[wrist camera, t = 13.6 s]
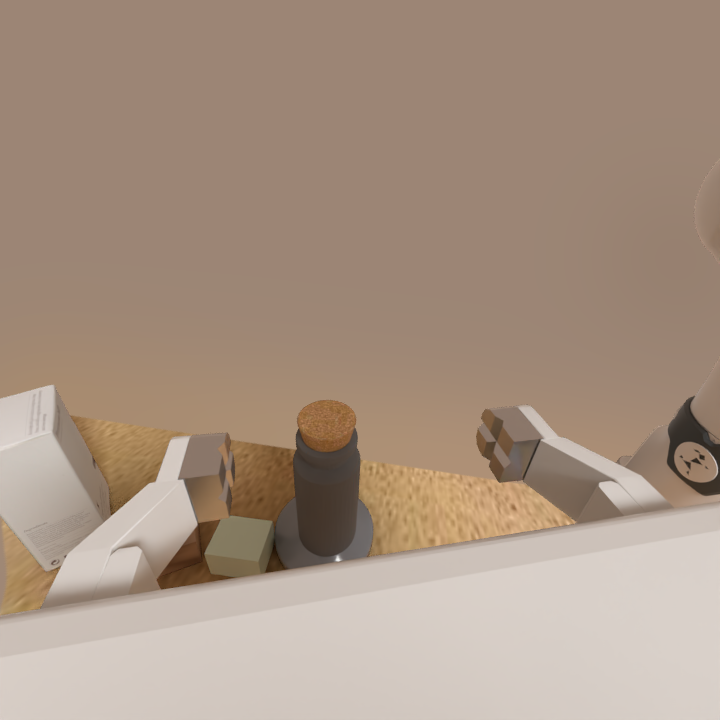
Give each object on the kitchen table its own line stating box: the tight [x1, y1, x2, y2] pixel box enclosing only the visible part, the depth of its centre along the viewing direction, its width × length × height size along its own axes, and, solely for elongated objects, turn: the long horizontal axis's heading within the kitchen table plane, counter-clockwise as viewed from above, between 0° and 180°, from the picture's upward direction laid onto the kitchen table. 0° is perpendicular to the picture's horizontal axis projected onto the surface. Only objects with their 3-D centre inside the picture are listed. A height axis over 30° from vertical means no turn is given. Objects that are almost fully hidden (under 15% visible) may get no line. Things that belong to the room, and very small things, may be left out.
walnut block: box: [159, 523, 202, 577], centre depth 35 cm, size 5×5×4 cm
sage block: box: [204, 515, 275, 578], centre depth 35 cm, size 5×4×4 cm
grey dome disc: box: [275, 497, 373, 570], centre depth 38 cm, size 10×10×1 cm
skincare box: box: [0, 385, 111, 572], centre depth 34 cm, size 8×6×15 cm
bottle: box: [293, 400, 360, 557], centre depth 33 cm, size 6×6×15 cm
